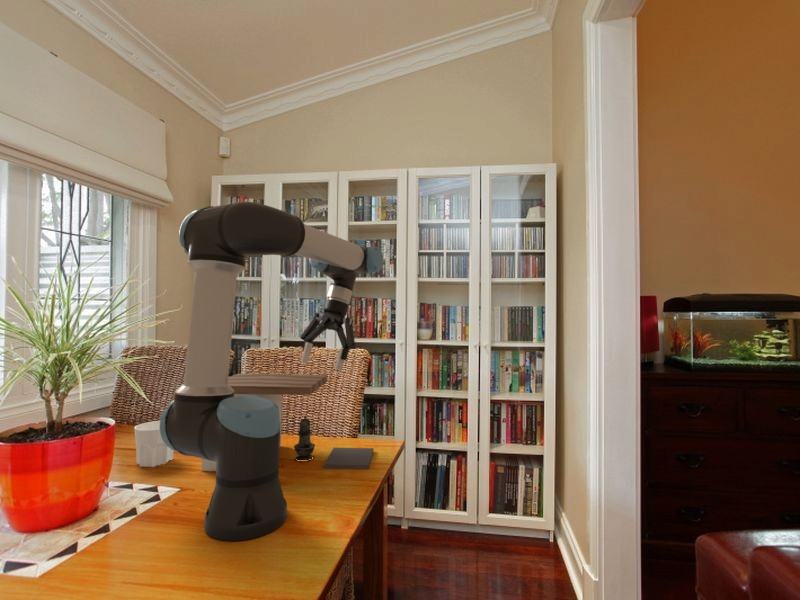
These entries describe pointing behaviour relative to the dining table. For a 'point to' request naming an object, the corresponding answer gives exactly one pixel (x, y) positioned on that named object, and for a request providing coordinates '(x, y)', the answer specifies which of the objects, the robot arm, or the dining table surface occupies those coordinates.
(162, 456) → the cup
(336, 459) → the mat
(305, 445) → the black chess piece
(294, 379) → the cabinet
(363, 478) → the dining table surface
